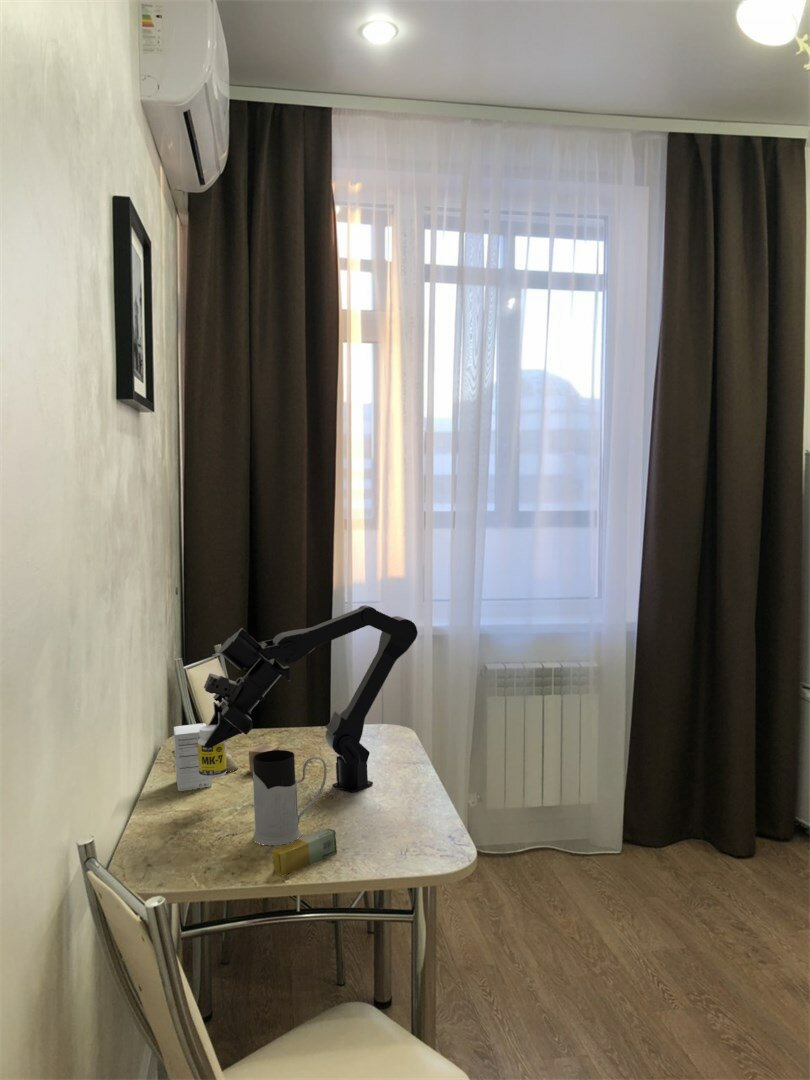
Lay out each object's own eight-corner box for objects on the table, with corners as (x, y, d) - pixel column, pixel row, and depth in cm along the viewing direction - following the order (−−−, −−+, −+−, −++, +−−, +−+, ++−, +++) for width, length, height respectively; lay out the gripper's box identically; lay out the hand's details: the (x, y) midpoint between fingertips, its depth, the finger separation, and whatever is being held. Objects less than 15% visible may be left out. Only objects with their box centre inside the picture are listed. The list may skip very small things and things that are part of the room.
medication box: (328, 849, 145) (326, 827, 144) (338, 853, 143) (336, 830, 143) (272, 873, 136) (271, 849, 136) (282, 877, 134) (280, 853, 134)
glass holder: (249, 831, 153) (245, 752, 153) (322, 819, 158) (319, 742, 158) (257, 849, 145) (254, 766, 144) (334, 835, 150) (331, 755, 149)
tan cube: (279, 767, 191) (278, 746, 191) (268, 774, 187) (267, 752, 186) (260, 765, 193) (260, 744, 193) (249, 772, 188) (248, 751, 188)
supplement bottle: (199, 780, 163) (197, 732, 163) (198, 772, 168) (196, 725, 168) (227, 777, 165) (225, 729, 164) (226, 768, 170) (224, 722, 169)
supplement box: (175, 781, 184) (173, 726, 183) (209, 777, 186) (207, 722, 185) (176, 792, 177) (174, 734, 176) (211, 787, 179) (209, 730, 178)
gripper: (221, 652, 176) (171, 709, 172) (232, 667, 158) (176, 731, 155) (260, 684, 179) (211, 740, 175) (275, 702, 161) (221, 765, 158)
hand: (204, 743), depth 166 cm, fingers closed on supplement bottle, 5 cm apart
